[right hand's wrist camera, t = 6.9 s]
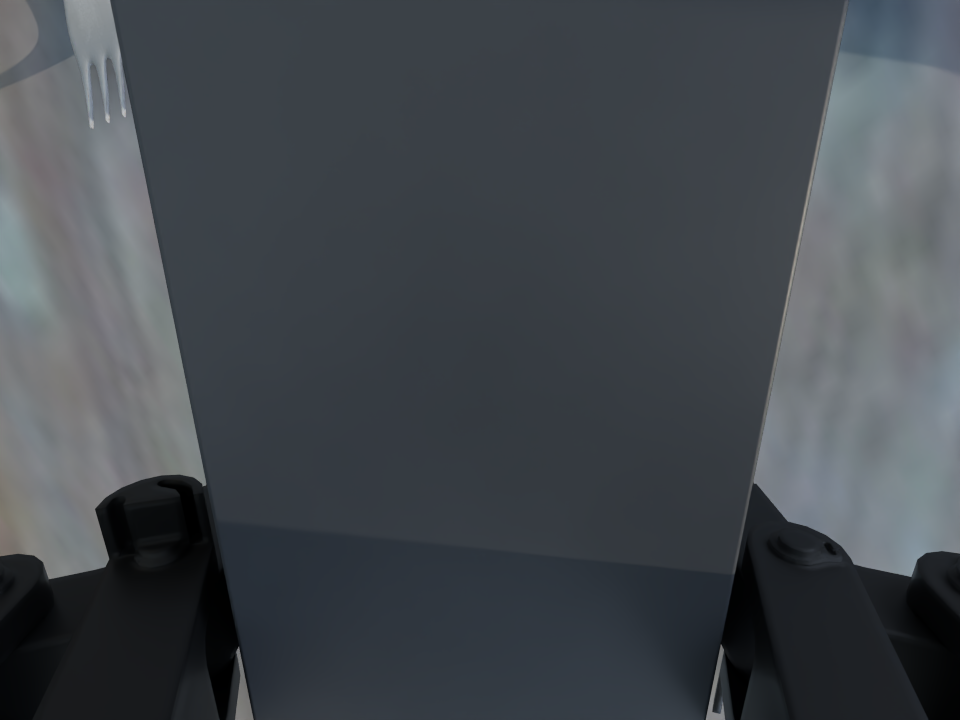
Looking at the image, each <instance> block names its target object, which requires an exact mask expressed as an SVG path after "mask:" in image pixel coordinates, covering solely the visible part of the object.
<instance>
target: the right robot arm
mask: <svg viewBox="0 0 960 720" xmlns="http://www.w3.org/2000/svg"><path fill="white" fill-rule="evenodd" d="M95 510H96V514H97V517H98V521H99V524H100V528H101V531H102V535H103V538H104V542H105V545H106V549H107V552H108V556H109V561H108V563H107V565H106V567H104V568H101V569H97V570H93V571H88V572H83V573H78V574H73V575H68V576H64V577H59V578H54V579H48V576H47V573H46V570H45V567H44V564H43V562H42V561H40V560H39V559H38V558H36V557H35V556H32V555H23V554H14V555H7V556H0V720H235V714H236V706H237V698H238V690H239V682H240V670H239V663H238V658H237V653H236V651H237V649H238V647H239V643H238V638H237V633H236V628H235V623H234V618H233V613H232V608H231V603H230V598H229V593H228V588H227V583H226V578H225V573H224V568H223V563H222V558H221V553H220V548H219V543H218V538H217V533H216V528H215V523H214V518H213V513H212V508H211V503H210V498H209V493H208V488H207V483H206V486H202V483H200V482H199V481H198V480H196V479H195V478H193V477H188V476H183V475H164V476H158V477H153V478H149V479H144V480H140V481H138V482H135V483H133V484H130V485H128V486H125V487H123V488H121V489H119V490H117V491H116V492H114V493H113V494H111V495H109V496H108V497H106V498H105V499H104V500H103V501H102V502H101V503H100V504H99V505H98V506H97V508H96V509H95ZM721 645H722V647H723V649H724V653H723V658H722V663H721V668H720V673H719V678H718V683H717V688H716V693H715V698H714V704H713V711H712V712H715V713H719V714H720V712H721V708H722V703H723V705H724V713H725V720H960V554H958V553H951V552H944V551H940V552H931V553H926V554H924V555H923V556H922V557H920V558H919V559H918V560H917V563H916V566H915V569H914V571H913V574H912V577H909V576H904V575H899V574H894V573H889V572H884V571H880V570H875V569H870V568H865V567H861V566H857V565H854V564H853V562H852V560H851V558H850V557H849V556H848V554H847V553H846V552H845V551H844V549H843V548H842V547H841V546H840V545H839V544H837V543H836V542H835V541H833V540H832V539H830V538H829V537H828V536H826V535H824V534H822V533H820V532H818V531H816V530H813V529H811V528H809V527H806V526H803V525H799V524H795V523H791V522H788V521H787V520H786V519H785V518H784V517H783V515H782V514H781V513H780V512H779V511H778V509H777V508H776V507H775V506H774V505H773V503H772V502H771V501H770V500H769V499H768V497H767V496H766V495H765V494H764V493H763V491H762V490H761V489H760V488H759V487H758V485H757V484H754V482H753V485H752V490H751V495H750V500H749V505H748V510H747V515H746V520H745V525H744V530H743V535H742V540H741V545H740V550H739V555H738V560H737V565H736V570H735V575H734V580H733V585H732V590H731V595H730V600H729V605H728V610H727V615H726V620H725V625H724V630H723V635H722V640H721Z"/></svg>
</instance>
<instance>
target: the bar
mask: <svg viewBox="0 0 960 720" xmlns="http://www.w3.org/2000/svg"><path fill="white" fill-rule="evenodd" d="M110 3H111V8H112V13H113V18H114V23H115V28H116V33H117V38H118V43H119V48H120V53H121V58H122V63H123V68H124V73H125V78H126V83H127V88H128V93H129V98H130V103H131V108H132V113H133V118H134V123H135V128H136V133H137V138H138V143H139V148H140V153H141V158H142V163H143V168H144V173H145V178H146V183H147V188H148V193H149V198H150V203H151V208H152V213H153V218H154V223H155V228H156V233H157V238H158V243H159V248H160V253H161V258H162V263H163V268H164V273H165V278H166V283H167V288H168V293H169V298H170V303H171V308H172V313H173V318H174V323H175V328H176V333H177V338H178V343H179V348H180V353H181V358H182V363H183V368H184V373H185V378H186V383H187V388H188V393H189V398H190V403H191V408H192V413H193V418H194V423H195V428H196V433H197V438H198V443H199V448H200V453H201V458H202V463H203V468H204V473H205V478H206V483H207V488H208V493H209V498H210V503H211V508H212V513H213V518H214V523H215V528H216V533H217V538H218V543H219V548H220V553H221V558H222V563H223V568H224V573H225V578H226V583H227V588H228V593H229V598H230V603H231V608H232V613H233V618H234V623H235V628H236V633H237V638H238V643H239V648H240V653H241V658H242V663H243V668H244V673H245V678H246V683H247V688H248V693H249V698H250V703H251V708H252V713H253V718H254V720H706V715H707V710H708V705H709V700H710V695H711V690H712V685H713V680H714V675H715V670H716V665H717V660H718V655H719V650H720V645H721V640H722V635H723V630H724V625H725V620H726V615H727V610H728V605H729V600H730V595H731V590H732V585H733V580H734V575H735V570H736V565H737V560H738V555H739V550H740V545H741V540H742V535H743V530H744V525H745V520H746V515H747V510H748V505H749V500H750V495H751V490H752V485H753V480H754V475H755V470H756V465H757V460H758V455H759V450H760V445H761V440H762V435H763V430H764V425H765V420H766V415H767V410H768V405H769V400H770V395H771V390H772V385H773V380H774V375H775V370H776V365H777V360H778V355H779V349H780V344H781V339H782V334H783V329H784V324H785V319H786V314H787V309H788V304H789V299H790V294H791V289H792V284H793V279H794V274H795V269H796V264H797V259H798V254H799V249H800V244H801V239H802V234H803V229H804V224H805V219H806V214H807V209H808V204H809V199H810V194H811V189H812V184H813V179H814V174H815V169H816V164H817V159H818V154H819V149H820V144H821V139H822V134H823V129H824V124H825V119H826V114H827V109H828V104H829V99H830V94H831V89H832V84H833V79H834V74H835V69H836V64H837V59H838V54H839V49H840V44H841V39H842V34H843V29H844V24H845V19H846V14H847V9H848V4H849V0H110Z"/></svg>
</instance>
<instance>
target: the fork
mask: <svg viewBox="0 0 960 720" xmlns="http://www.w3.org/2000/svg"><path fill="white" fill-rule="evenodd" d="M63 1H64V9H65V16H66V22H67V28H68V33H69V37H70V41H71V45H72V48H73V51H74V54H75V57H76V60H77V63H78V66H79V70H80V73H81V77H82V82H83V87H84V93H85V99H86V105H87V111H88V119H89V127H90V128H91V129H93V128H94V119H93V99H92V86H91V76H90V67H91V65H92V64H94V65H95V67H96V69H97V73H98V77H99V82H100V88H101V93H102V99H103V105H104V112H105V120H106V122H107V123H110V112H109V94H108V82H107V72H106V61H107V59H108V58H110V59H111V61H112V64H113V67H114V72H115V76H116V82H117V87H118V92H119V98H120V104H121V112H122V115H123V117H126V103H125V88H124V76H123V67H122V58H121V53H120V48H119V43H118V38H117V33H116V28H115V23H114V18H113V13H112V8H111V3H110V0H63Z"/></svg>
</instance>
